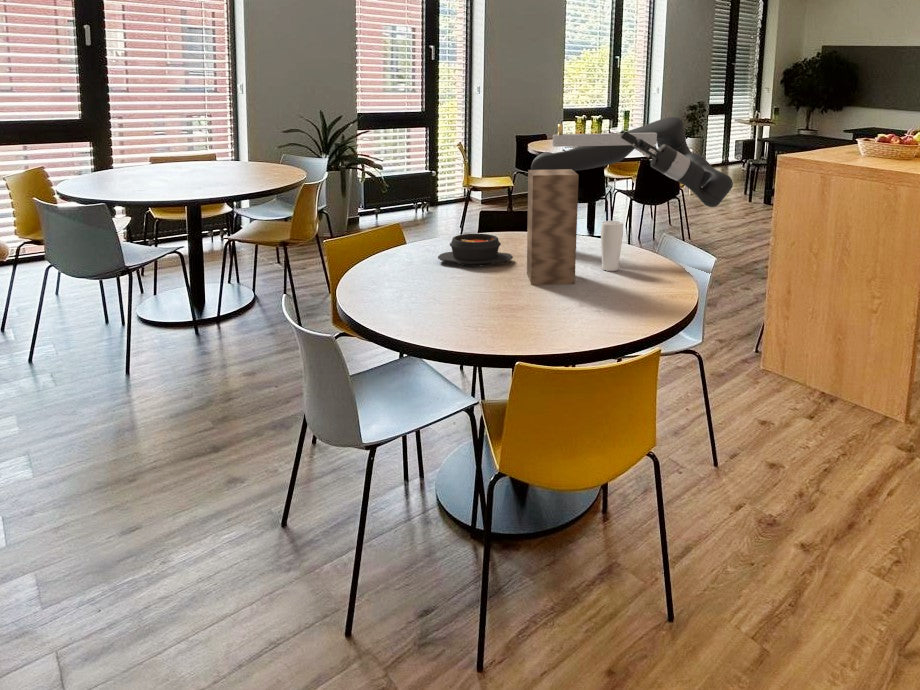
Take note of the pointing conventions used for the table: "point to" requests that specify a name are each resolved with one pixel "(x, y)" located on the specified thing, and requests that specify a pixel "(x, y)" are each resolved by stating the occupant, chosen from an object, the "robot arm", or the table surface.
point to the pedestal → (552, 226)
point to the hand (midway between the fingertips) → (621, 133)
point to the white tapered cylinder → (611, 244)
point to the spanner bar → (597, 139)
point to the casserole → (475, 250)
